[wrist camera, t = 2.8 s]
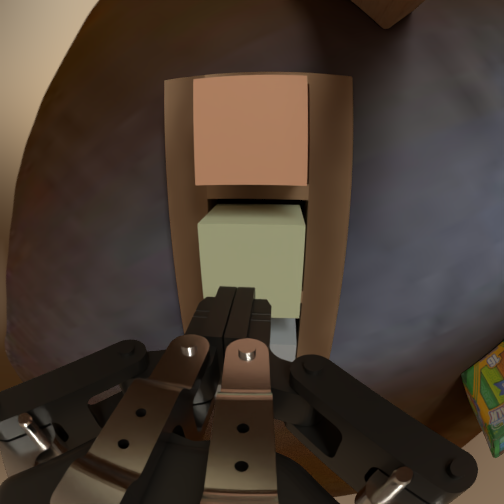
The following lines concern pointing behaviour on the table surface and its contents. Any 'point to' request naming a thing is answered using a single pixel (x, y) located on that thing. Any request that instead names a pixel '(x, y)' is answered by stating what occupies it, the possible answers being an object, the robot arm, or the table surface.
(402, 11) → the wooden block
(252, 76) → the terracotta key
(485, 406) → the chalk box
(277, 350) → the slate key
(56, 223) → the table surface
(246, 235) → the sage key
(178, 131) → the wooden tray
